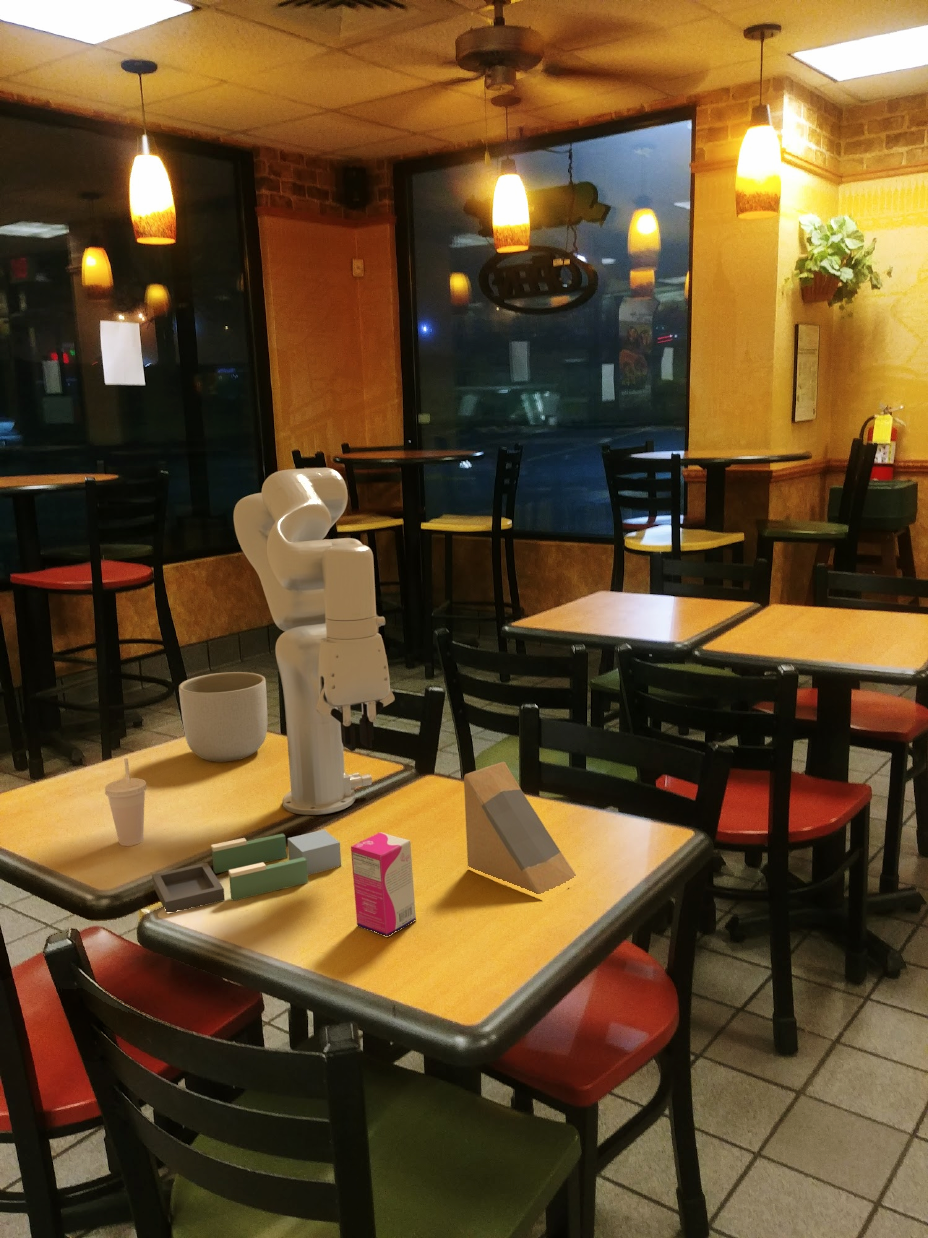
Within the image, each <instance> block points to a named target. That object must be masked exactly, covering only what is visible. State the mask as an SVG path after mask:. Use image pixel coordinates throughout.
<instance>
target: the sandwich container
mask: <svg viewBox="0 0 928 1238" xmlns="http://www.w3.org/2000/svg"><path fill="white" fill-rule="evenodd" d="M463 786H464V787H463V789H464V790H463V791H464V808H465V810H464V811H465V812H464V813H465V830H466V831H465V832H466V833H465V834H466V835H465V836H466V851H467V852H466V854H467V856H466V857H467V867H468V866H469V867H471V868H473V869H475V870H478V871H481V872H483V873H485V874H488V875H491V876H493V877H496V878H498V879H502V880H503V881H507V882H509V883H512V884H514V885H517V886H520V887H521V888H525V889H527V890H529V891H532V892H534V893H536V894H541V893H544V892H545V891H549V889H553V888H555V887H556V886H560V885H561V884H563V883H566V881H569V880H570V879H572V878H574V876H576V875H577V874H576V873H575V870H574V869H573V868H572V866H571V865H570V864H569V862H568V861H567V859H566V858H565V856H564V854H563V853H562V851H561V850H560V848H559V847H558V845H557V844H556V842H555V841H554V839H553V838H552V836H551V835H550V833H549V831H548V830H547V828H546V827H545V825H544V823H543V822H542V821H541V819H540V817H539V815H538V814H537V812H536V811H535V809H534V808H533V806H532V805H531V803H530V802H529V800H528V799H527V797H526V795H525V793H524V791H522V789H521V787H520V785H519V784H518V781H516V779H515V777H514V775H513V773H512V772H511V770H510V769H509V767H508V766H507V763H506V762H505V761H501V762H498V763H496V764H495V763H494V764H492V765H489V766H485V767H483V768H480V769H476V770H474V771H471V772H468V773H465V774H464V776H463Z"/></svg>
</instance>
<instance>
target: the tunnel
mask: <svg viewBox="0 0 928 1238" xmlns="http://www.w3.org/2000/svg"><path fill="white" fill-rule="evenodd" d="M210 846H211V855H212V856H211V857H212V868H213V872H214V874H220V873H225V872H228V878H229V890H230V898H231V900H232V901H238V900H241V899H246V898H250V897H254V896H258V895H262V894H267V893H271V892H275V891H278V890H279V891H280V890H284V889H287V888H291V887H295V886H299V885H303V884H308V883H309V877H308V876H309V875H308V874H307V860H306V859H305V858H304V857H302V858H298V859H293V860H289V859H288V860H286V861H281V862H276V863H272V864H267V865H266V864H265V863H268V862H273V861H277V860H281V859H286V858H288V857H287V856H288V855H287V838H286V835H285V834H284V833H279V834H274V835H270V836H265V837H261V838H255V839H252V840H247V839H246V838H245V837H243V838H242V837H241V838H237V839H233V840H229V841H223V842H219V843H215V844H214V843H213V844H211V845H210Z"/></svg>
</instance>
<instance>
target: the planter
mask: <svg viewBox="0 0 928 1238" xmlns="http://www.w3.org/2000/svg"><path fill="white" fill-rule="evenodd" d="M178 692H179V703H180V709H181V719H182V725H183V731H184V737H185V741H186V744H187V746H188V747H189V749H190V750H191V752H192V753H194V754H195V755H196V756H198V757H199V758H201V759H203V760H205V761H208V762H219V763H220V762H222V763H223V762H225V763H226V762H232V761H238V760H241V759H246V758H248V757H250V756H252V755H253V754H255V753H256V752H257V751H258V750H259V749H260V748H261V747H262V745H263V744H264V743H265V740H266V737H267V734H268V731H267V730H268V703H267V701H268V700H267V680H266V678H265V676H263V675H262V674H258V673H255V672H247V671H246V672H245V671H244V672H243V671H237V672H236V671H232V672H231V671H229V672H218V673H217V672H216V673H209V674H204V675H199V676H195V677H192V678H189V679H187V680H184V681H182V682H181V683H180V684H179V685H178Z"/></svg>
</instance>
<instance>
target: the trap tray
mask: <svg viewBox="0 0 928 1238" xmlns="http://www.w3.org/2000/svg"><path fill="white" fill-rule="evenodd" d="M151 877H152V887H153V889H154V891H155V893H156V896H157V897H158V899H159V901H160V904H161V905H162V907H163V908H164V907H165V909H166V911H165V913H166V912H174V913H177V912H176V911H177V910H182V911H185V910H184V909H187V910H190V909H189V908H191V907H195V908H199V907H201V906H200V905H203V906H207V905H211V904H216V903H219V902H223V901H225V900H226V898H225V888H224V886H223V885H222V884H221V882H220V881H219V879H218V877H217V876H216V873H215V872H214V870H212V868H211V866H210V865H209V863H208V862H203V863H199V864H194V865H190V866H185V867H181V868H176V869H173V870H172V869H171V870H168V871H163V872H158V873H155V874H151ZM198 906H199V907H198ZM165 909H164V910H165ZM191 909H192V908H191Z"/></svg>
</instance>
